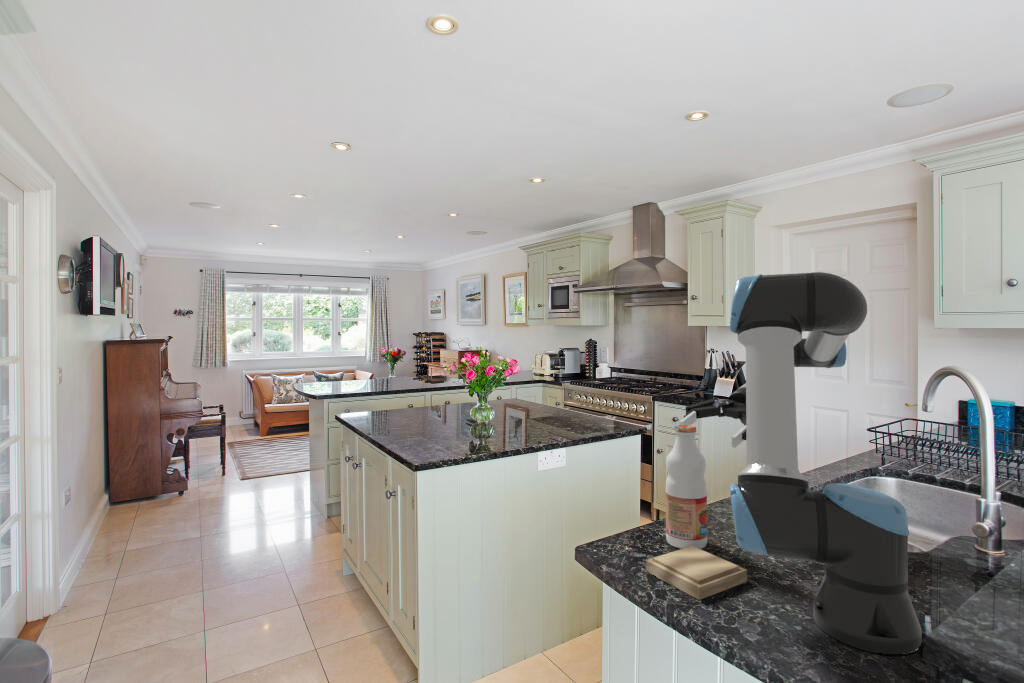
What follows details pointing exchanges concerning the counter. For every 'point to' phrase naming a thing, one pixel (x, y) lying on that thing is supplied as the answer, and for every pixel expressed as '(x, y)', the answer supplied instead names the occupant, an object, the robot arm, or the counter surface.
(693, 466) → the fruit juice
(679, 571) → the board
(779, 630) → the counter surface
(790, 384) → the robot arm
